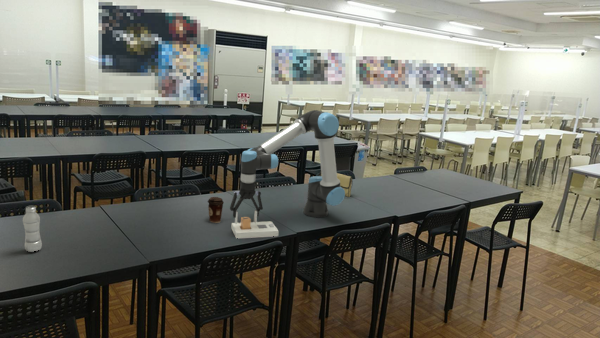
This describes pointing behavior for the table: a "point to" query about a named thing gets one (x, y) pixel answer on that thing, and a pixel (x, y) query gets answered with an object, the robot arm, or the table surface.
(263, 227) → the socket box
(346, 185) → the clutch purse
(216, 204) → the coffee cup
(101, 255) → the table surface
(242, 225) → the tan rectangular block
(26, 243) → the plastic bottle
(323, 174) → the robot arm
